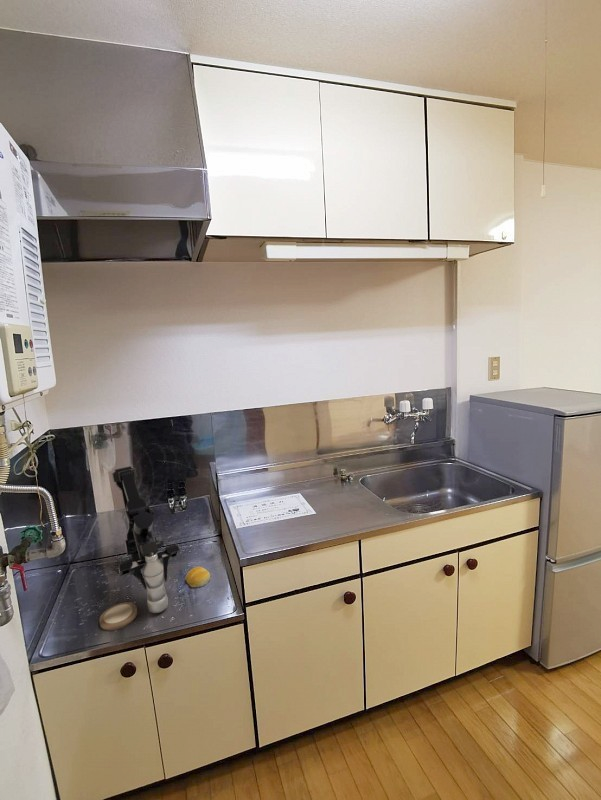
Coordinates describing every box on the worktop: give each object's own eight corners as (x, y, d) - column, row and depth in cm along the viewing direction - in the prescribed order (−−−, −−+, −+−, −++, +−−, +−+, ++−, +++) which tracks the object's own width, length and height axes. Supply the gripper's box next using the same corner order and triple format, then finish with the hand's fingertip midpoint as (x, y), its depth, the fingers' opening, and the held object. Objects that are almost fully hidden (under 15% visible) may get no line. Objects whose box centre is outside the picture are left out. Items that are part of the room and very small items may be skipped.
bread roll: (194, 591, 137) (192, 581, 136) (183, 580, 144) (181, 570, 143) (215, 580, 142) (214, 571, 142) (203, 570, 149) (202, 560, 148)
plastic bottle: (149, 619, 125) (141, 562, 121) (147, 606, 131) (139, 551, 127) (170, 611, 128) (163, 555, 124) (167, 599, 134) (159, 545, 130)
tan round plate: (94, 619, 126) (93, 615, 126) (127, 600, 134) (126, 596, 134) (109, 636, 119) (108, 631, 119) (143, 614, 127) (142, 610, 127)
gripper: (114, 540, 123) (125, 590, 116) (174, 521, 132) (188, 567, 125) (114, 551, 131) (124, 599, 124) (171, 533, 140) (183, 576, 133)
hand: (156, 585), depth 126 cm, fingers closed on plastic bottle, 6 cm apart
